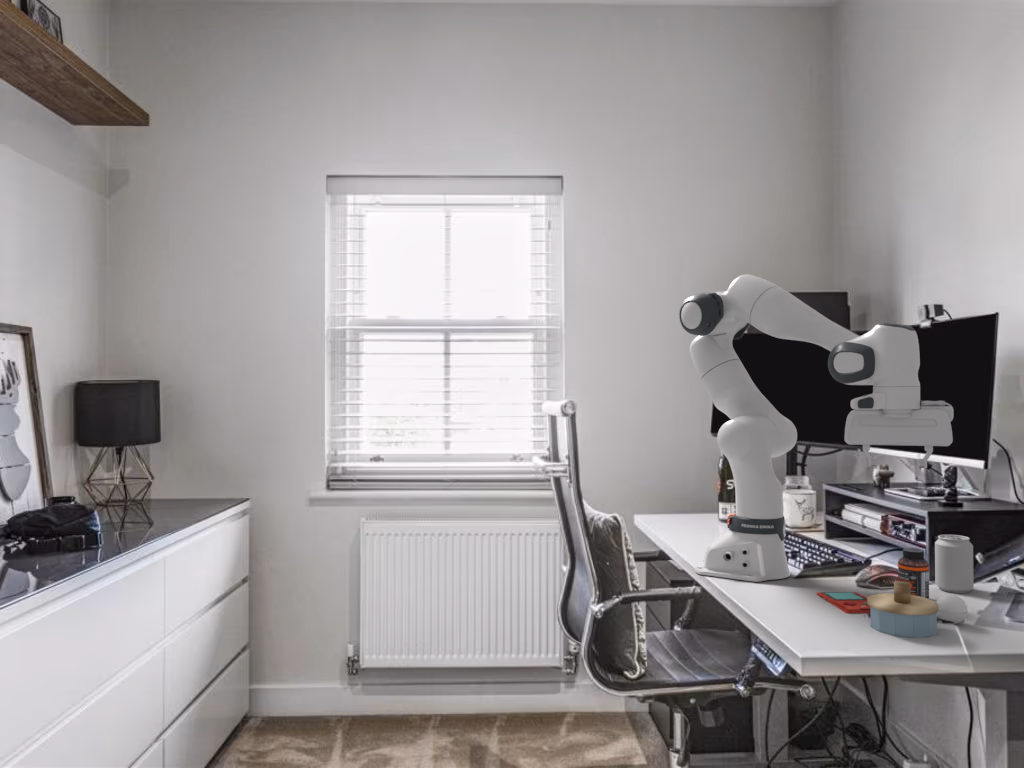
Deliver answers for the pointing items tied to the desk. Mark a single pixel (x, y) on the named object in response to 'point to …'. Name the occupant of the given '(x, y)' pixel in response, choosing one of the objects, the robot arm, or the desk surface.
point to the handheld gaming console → (847, 601)
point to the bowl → (904, 624)
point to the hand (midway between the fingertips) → (897, 467)
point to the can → (954, 563)
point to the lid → (903, 601)
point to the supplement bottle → (914, 571)
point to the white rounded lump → (952, 608)
